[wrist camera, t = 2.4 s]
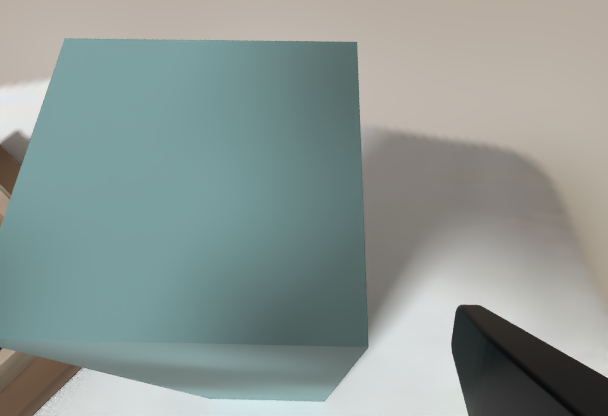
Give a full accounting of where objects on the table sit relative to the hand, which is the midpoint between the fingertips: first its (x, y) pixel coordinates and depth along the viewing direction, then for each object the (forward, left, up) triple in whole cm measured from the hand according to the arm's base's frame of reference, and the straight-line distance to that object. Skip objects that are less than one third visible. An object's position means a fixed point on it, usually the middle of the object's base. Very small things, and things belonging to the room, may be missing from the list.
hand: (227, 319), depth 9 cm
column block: (+1, -1, -10) cm, 10 cm away
